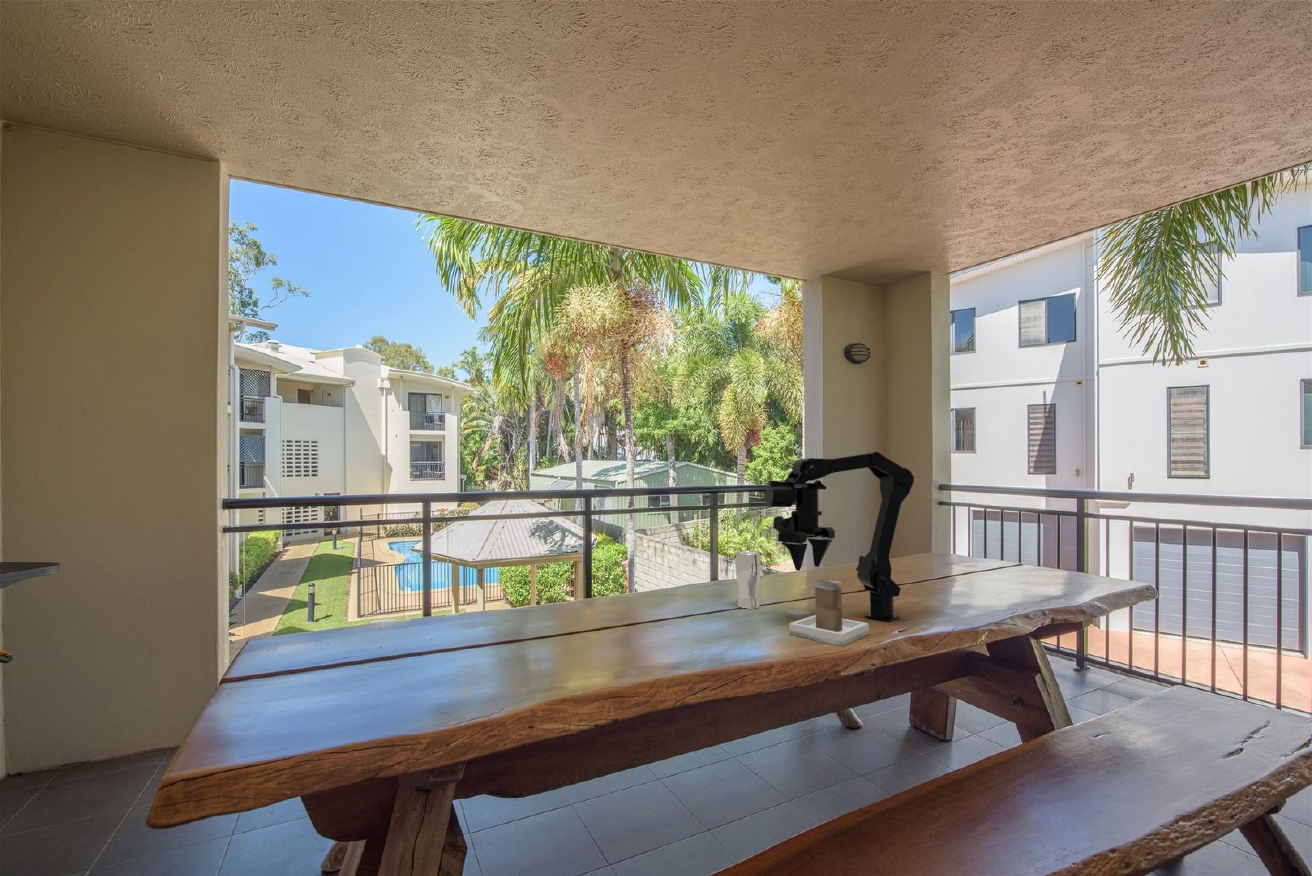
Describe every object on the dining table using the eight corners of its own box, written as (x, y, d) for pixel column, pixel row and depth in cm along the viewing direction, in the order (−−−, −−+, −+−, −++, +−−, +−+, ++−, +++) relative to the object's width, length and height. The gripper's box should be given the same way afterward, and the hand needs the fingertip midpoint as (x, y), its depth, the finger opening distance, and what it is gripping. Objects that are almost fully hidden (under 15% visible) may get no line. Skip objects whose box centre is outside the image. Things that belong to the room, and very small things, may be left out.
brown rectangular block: (826, 626, 136) (825, 579, 137) (842, 630, 132) (841, 582, 133) (815, 629, 133) (814, 581, 134) (832, 633, 130) (831, 584, 130)
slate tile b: (796, 612, 155) (796, 609, 155) (810, 615, 151) (810, 612, 151) (783, 614, 152) (783, 611, 152) (797, 618, 148) (797, 615, 148)
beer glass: (760, 604, 164) (759, 551, 165) (762, 609, 157) (761, 554, 158) (735, 603, 165) (735, 551, 166) (736, 609, 158) (736, 554, 159)
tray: (817, 624, 142) (817, 613, 142) (868, 634, 133) (868, 623, 133) (789, 634, 133) (789, 623, 133) (841, 646, 124) (841, 634, 124)
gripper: (798, 504, 160) (798, 561, 159) (759, 507, 146) (760, 568, 145) (835, 506, 152) (836, 566, 151) (798, 509, 139) (799, 574, 137)
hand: (807, 568), depth 146 cm, fingers open, 9 cm apart
